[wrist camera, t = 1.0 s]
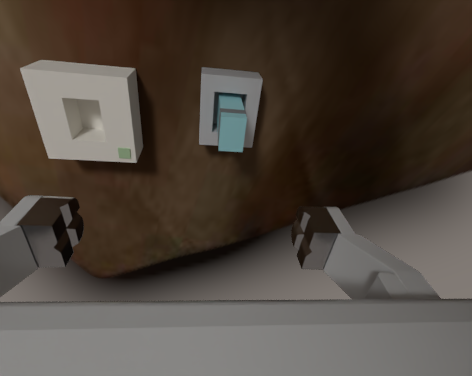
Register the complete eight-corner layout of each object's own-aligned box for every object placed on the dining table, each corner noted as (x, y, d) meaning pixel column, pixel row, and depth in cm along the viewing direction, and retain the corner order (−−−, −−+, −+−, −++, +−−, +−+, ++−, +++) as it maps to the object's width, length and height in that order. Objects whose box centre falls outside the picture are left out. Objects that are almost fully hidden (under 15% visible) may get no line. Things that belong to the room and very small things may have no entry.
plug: (218, 90, 40) (220, 115, 32) (239, 92, 40) (247, 117, 32) (216, 120, 42) (218, 151, 34) (236, 121, 43) (242, 152, 34)
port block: (41, 59, 36) (19, 68, 32) (135, 68, 38) (126, 78, 34) (63, 142, 43) (48, 159, 39) (143, 147, 45) (136, 163, 40)
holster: (202, 67, 38) (201, 73, 35) (258, 72, 39) (262, 79, 36) (199, 133, 44) (199, 144, 41) (249, 137, 45) (252, 147, 42)
